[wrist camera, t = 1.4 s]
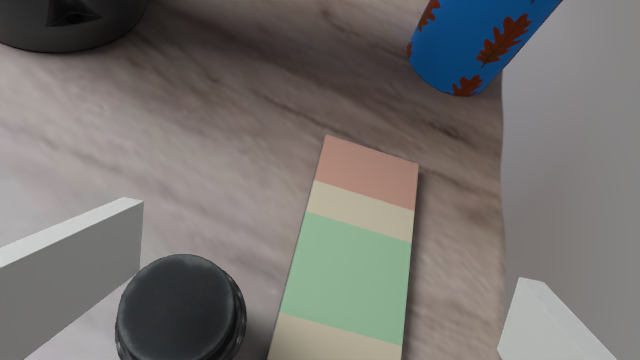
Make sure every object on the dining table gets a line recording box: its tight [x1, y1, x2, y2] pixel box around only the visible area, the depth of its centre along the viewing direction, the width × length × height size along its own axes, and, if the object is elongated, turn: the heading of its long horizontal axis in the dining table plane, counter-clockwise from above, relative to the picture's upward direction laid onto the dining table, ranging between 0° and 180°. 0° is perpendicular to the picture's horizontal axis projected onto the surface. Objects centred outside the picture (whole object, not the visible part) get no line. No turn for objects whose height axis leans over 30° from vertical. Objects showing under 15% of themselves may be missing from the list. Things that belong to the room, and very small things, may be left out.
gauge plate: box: [266, 134, 419, 360], centre depth 30 cm, size 9×24×1 cm, turn 168°
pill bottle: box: [115, 254, 247, 360], centre depth 21 cm, size 6×6×11 cm
